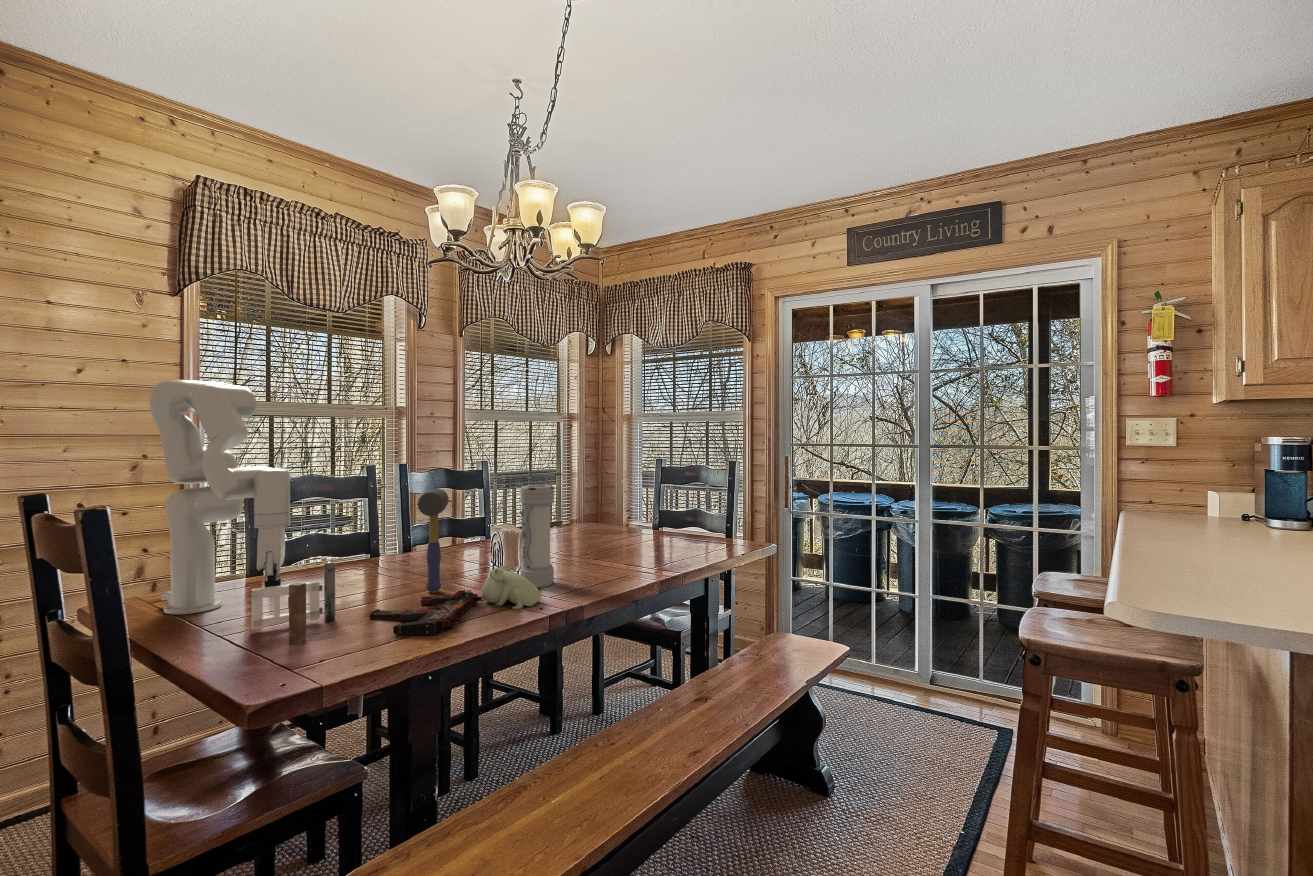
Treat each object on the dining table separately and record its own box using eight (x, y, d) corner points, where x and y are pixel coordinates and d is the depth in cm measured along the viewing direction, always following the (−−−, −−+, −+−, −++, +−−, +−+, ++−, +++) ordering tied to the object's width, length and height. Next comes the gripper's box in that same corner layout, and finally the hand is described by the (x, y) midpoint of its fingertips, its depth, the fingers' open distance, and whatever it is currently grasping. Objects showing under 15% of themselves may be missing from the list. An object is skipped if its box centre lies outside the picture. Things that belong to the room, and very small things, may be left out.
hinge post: (320, 621, 164) (320, 562, 163) (328, 618, 166) (328, 560, 166) (331, 622, 163) (330, 563, 163) (338, 619, 166) (338, 560, 166)
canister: (515, 587, 200) (515, 487, 199) (527, 579, 210) (527, 484, 209) (547, 588, 198) (547, 488, 197) (558, 581, 208) (558, 485, 207)
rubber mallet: (443, 597, 188) (443, 490, 187) (416, 598, 187) (415, 491, 186) (450, 586, 200) (450, 486, 200) (424, 587, 199) (424, 487, 199)
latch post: (287, 643, 148) (287, 585, 147) (295, 640, 150) (294, 582, 150) (298, 644, 147) (298, 585, 147) (306, 640, 149) (306, 583, 149)
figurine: (492, 597, 189) (492, 561, 189) (545, 601, 185) (545, 565, 184) (473, 606, 179) (473, 569, 179) (529, 611, 175) (529, 573, 175)
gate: (251, 627, 156) (251, 589, 156) (320, 616, 165) (320, 580, 164) (252, 629, 154) (252, 590, 154) (322, 618, 163) (322, 582, 163)
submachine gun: (404, 588, 188) (492, 584, 188) (404, 601, 188) (492, 597, 188) (344, 624, 154) (452, 619, 153) (345, 640, 154) (453, 636, 153)
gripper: (259, 517, 165) (259, 590, 166) (249, 525, 151) (249, 605, 152) (293, 515, 168) (293, 587, 169) (286, 523, 154) (286, 602, 155)
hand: (272, 596), depth 160 cm, fingers closed
